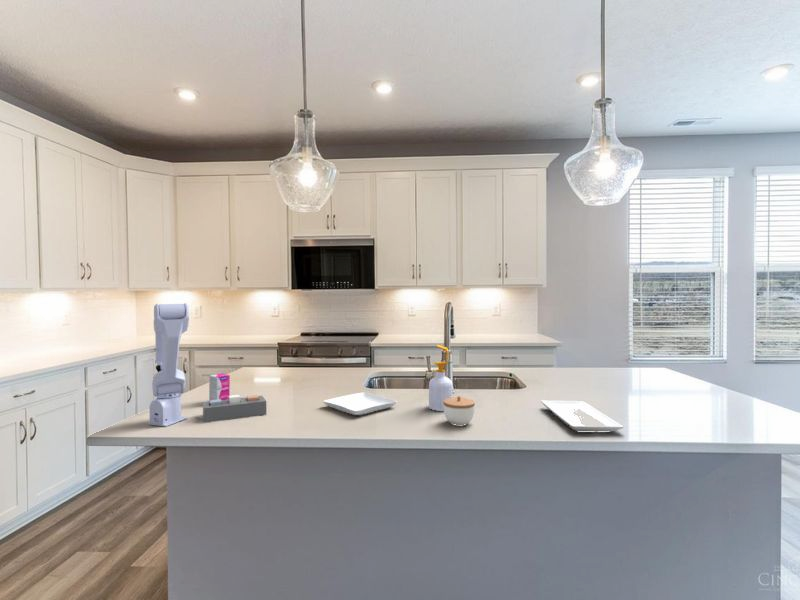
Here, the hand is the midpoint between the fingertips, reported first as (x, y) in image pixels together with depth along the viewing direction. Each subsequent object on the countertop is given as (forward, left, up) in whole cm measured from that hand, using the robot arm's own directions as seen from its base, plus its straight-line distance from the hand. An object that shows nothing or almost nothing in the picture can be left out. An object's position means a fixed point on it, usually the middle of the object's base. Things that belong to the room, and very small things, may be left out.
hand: (164, 384), depth 164 cm
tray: (+37, -147, -11) cm, 152 cm away
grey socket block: (+4, -28, -10) cm, 30 cm away
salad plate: (+27, -68, -11) cm, 74 cm away
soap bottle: (+36, -98, -11) cm, 105 cm away
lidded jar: (+20, -108, -11) cm, 110 cm away
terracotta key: (+9, -33, -8) cm, 35 cm away
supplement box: (+16, -11, -11) cm, 22 cm away
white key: (+4, -28, -7) cm, 29 cm away
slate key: (0, -24, -8) cm, 25 cm away
